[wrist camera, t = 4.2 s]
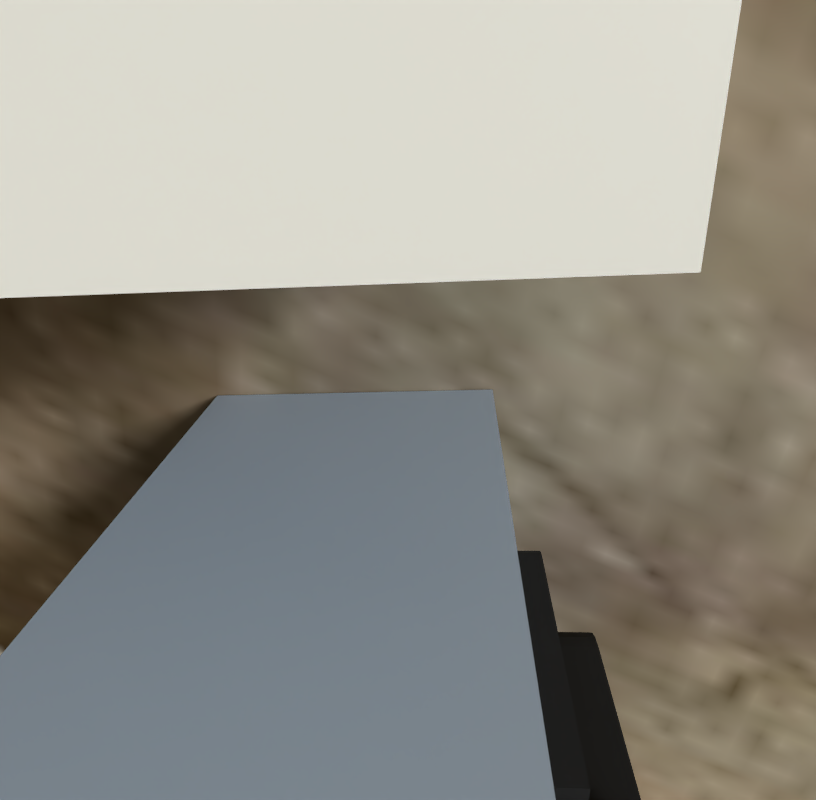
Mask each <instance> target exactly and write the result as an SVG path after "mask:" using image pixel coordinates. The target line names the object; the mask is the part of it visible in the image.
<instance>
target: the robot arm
mask: <svg viewBox="0 0 816 800" xmlns="http://www.w3.org/2000/svg"><path fill="white" fill-rule="evenodd" d="M517 552H518V559H519V565H520V572H521V578H522V585H523V591H524V598H525V604H526V611H527V617H528V624H529V630H530V636H531V643H532V649H533V656H534V662H535V669H536V675H537V682H538V688H539V695H540V701H541V708H542V714H543V721H544V727H545V734H546V740H547V746H548V753H549V759H550V766H551V772H552V779H553V785H554V792H555V798H556V800H641V798H640V795H639V791H638V788H637V784H636V780H635V777H634V773H633V770H632V766H631V763H630V759H629V755H628V752H627V748H626V745H625V741H624V737H623V734H622V730H621V727H620V723H619V720H618V716H617V712H616V709H615V705H614V702H613V698H612V694H611V691H610V687H609V684H608V680H607V677H606V673H605V669H604V666H603V662H602V659H601V655H600V651H599V648H598V645H597V642H596V639H595V637H594V635H593V633H582V632H558V631H557V626H556V621H555V617H554V612H553V607H552V602H551V597H550V593H549V588H548V583H547V578H546V573H545V569H544V564H543V559H542V555H541V552H540V551H517Z"/></svg>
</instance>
